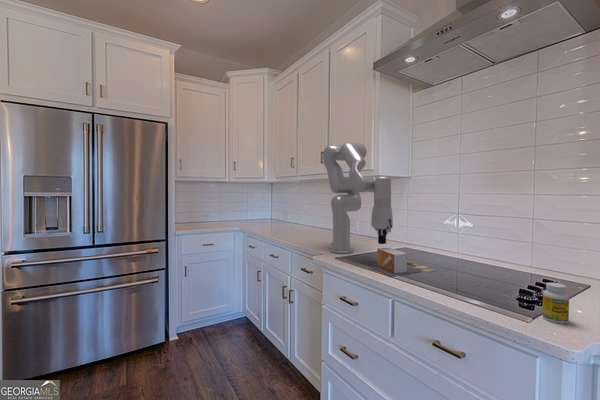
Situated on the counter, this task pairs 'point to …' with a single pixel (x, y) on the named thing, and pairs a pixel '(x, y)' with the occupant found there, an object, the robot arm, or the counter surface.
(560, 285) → the supplement bottle
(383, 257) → the small box
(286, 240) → the counter surface
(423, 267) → the turner
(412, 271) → the mat
